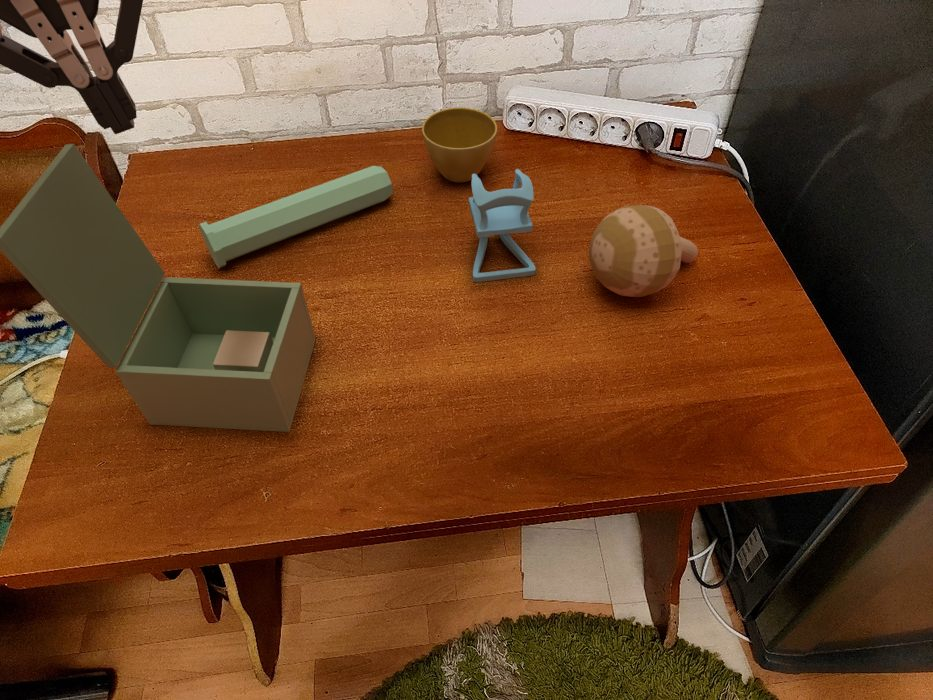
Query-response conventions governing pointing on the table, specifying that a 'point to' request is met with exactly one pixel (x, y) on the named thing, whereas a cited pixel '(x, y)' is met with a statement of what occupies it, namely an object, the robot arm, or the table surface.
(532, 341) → the table surface
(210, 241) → the green rod
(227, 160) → the table surface
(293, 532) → the table surface
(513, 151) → the table surface
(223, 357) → the block
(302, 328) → the chest
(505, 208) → the chair
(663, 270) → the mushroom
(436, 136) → the flower pot
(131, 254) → the lid
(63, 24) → the robot arm
